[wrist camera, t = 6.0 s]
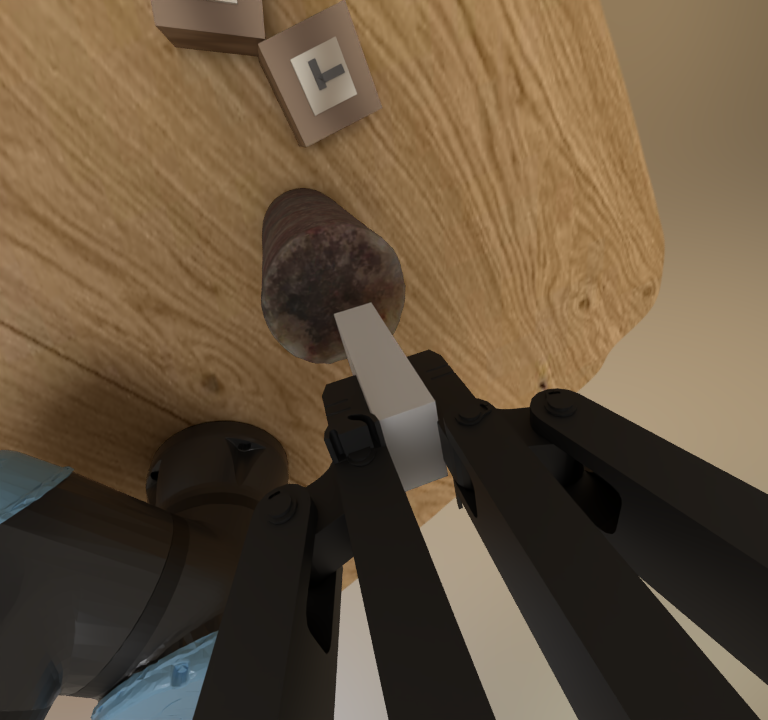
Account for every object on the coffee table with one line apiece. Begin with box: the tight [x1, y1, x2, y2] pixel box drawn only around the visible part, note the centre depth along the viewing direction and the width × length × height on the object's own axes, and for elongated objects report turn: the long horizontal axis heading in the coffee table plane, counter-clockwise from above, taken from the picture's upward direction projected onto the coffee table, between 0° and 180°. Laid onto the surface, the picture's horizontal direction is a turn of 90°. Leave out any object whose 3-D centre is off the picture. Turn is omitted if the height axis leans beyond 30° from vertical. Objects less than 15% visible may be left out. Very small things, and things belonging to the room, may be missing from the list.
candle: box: [261, 188, 405, 364], centre depth 26 cm, size 8×7×20 cm
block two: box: [258, 0, 382, 147], centre depth 27 cm, size 6×6×6 cm
